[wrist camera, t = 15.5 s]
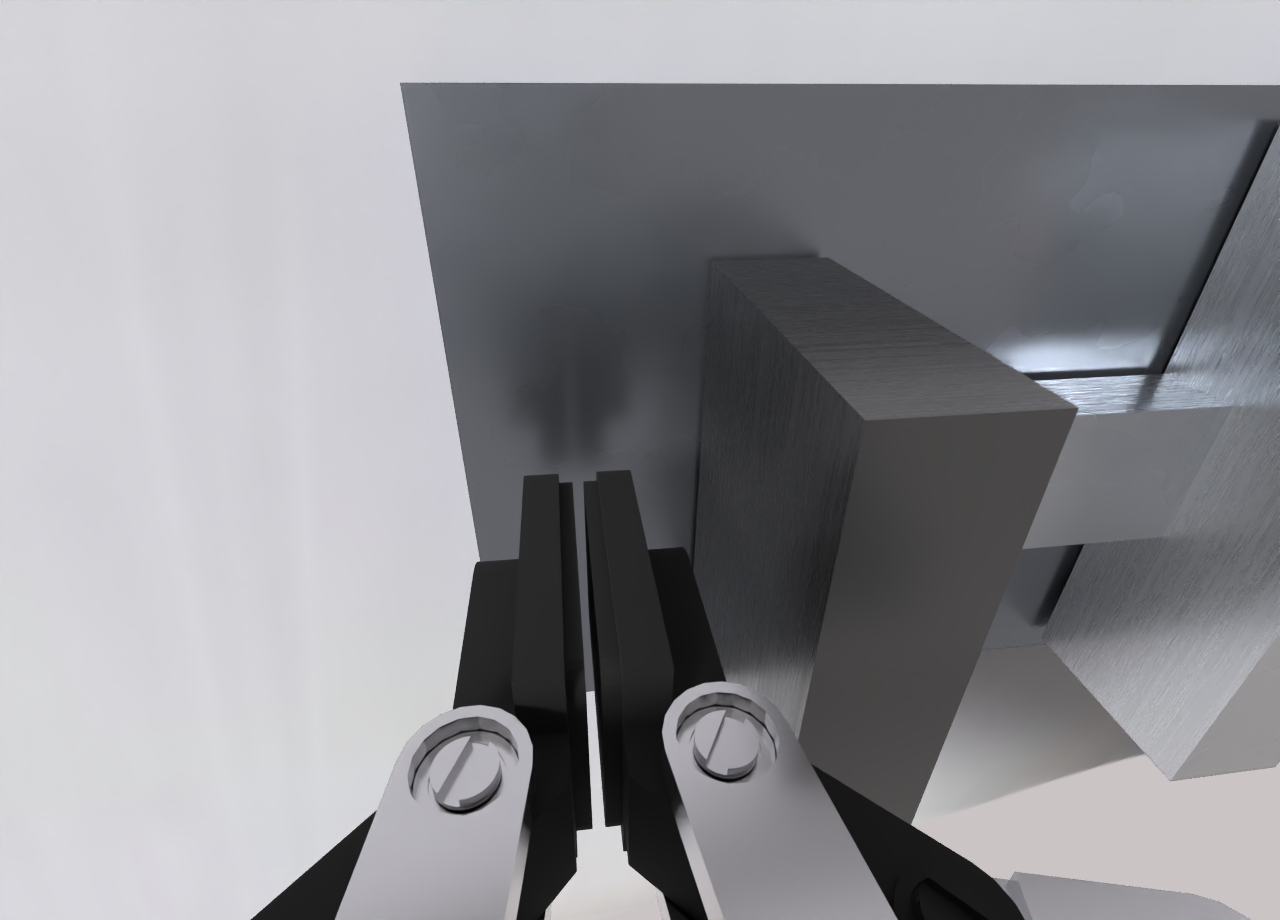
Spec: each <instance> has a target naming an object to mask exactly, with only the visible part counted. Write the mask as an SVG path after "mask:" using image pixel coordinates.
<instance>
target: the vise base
mask: <svg viewBox="0 0 1280 920" xmlns="http://www.w3.org/2000/svg"><path fill="white" fill-rule="evenodd" d="M400 85H401V91H402V97H403V103H404V109H405V115H406V121H407V127H408V133H409V139H410V145H411V151H412V157H413V162H414V168H415V174H416V180H417V186H418V192H419V198H420V204H421V210H422V216H423V222H424V228H425V234H426V240H427V246H428V252H429V258H430V264H431V270H432V276H433V282H434V288H435V294H436V300H437V306H438V312H439V318H440V324H441V330H442V336H443V342H444V348H445V354H446V360H447V365H448V371H449V377H450V383H451V389H452V395H453V401H454V407H455V413H456V419H457V425H458V431H459V437H460V443H461V449H462V455H463V461H464V467H465V473H466V479H467V485H468V491H469V497H470V503H471V509H472V515H473V521H474V527H475V533H476V539H477V545H478V551H479V557H480V562H483V561H496V560H510V559H519V546H520V529H521V513H522V496H523V480H524V476H528V475H545V474H559V483H564V482H573V497H574V512H575V527H576V543H577V558H578V573H579V589H580V604H581V619H582V635H583V650H584V666H585V684H586V692H589V691H595V690H594V677H593V665H592V652H591V639H590V627H589V610H588V587H587V562H586V538H585V513H584V488H583V481H596V472H598V471H616V470H630V471H631V474H632V479H633V484H634V488H635V493H636V497H637V502H638V506H639V511H640V515H641V520H642V525H643V529H644V534H645V538H646V543H647V547H648V550H649V549H663V548H677V547H684V548H685V549H686V551H687V554H688V556H689V559H690V563H691V566H692V569H693V571H694V554H695V537H696V521H697V504H698V487H699V470H700V454H701V437H702V420H703V403H704V387H705V370H706V353H707V336H708V320H709V303H710V286H711V269H712V261H722V260H756V259H790V258H825V257H828V258H830V259H832V260H833V261H835V262H837V263H838V264H840V265H842V266H843V267H845V268H847V269H848V270H850V271H852V272H853V273H855V274H857V275H858V276H860V277H862V278H863V279H865V280H867V281H868V282H870V283H872V284H873V285H875V286H877V287H878V288H880V289H882V290H883V291H885V292H887V293H888V294H890V295H892V296H893V297H895V298H897V299H898V300H900V301H902V302H903V303H905V304H907V305H908V306H910V307H912V308H913V309H915V310H917V311H918V312H920V313H922V314H923V315H925V316H927V317H928V318H930V319H932V320H933V321H935V322H937V323H938V324H940V325H942V326H943V327H945V328H947V329H948V330H950V331H952V332H953V333H955V334H957V335H958V336H960V337H962V338H963V339H965V340H967V341H968V342H970V343H972V344H973V345H975V346H977V347H978V348H980V349H982V350H983V351H985V352H987V353H988V354H990V355H992V356H993V357H995V358H997V359H998V360H1000V361H1002V362H1003V363H1005V364H1007V365H1008V366H1010V367H1012V368H1013V369H1015V370H1017V371H1018V372H1020V373H1022V374H1023V375H1025V376H1027V377H1028V378H1030V379H1032V380H1033V381H1039V380H1057V379H1076V378H1094V377H1113V376H1131V375H1150V374H1164V373H1165V370H1166V368H1167V366H1168V364H1169V362H1170V360H1171V358H1172V355H1173V353H1174V351H1175V349H1176V347H1177V345H1178V343H1179V340H1180V338H1181V336H1182V334H1183V332H1184V330H1185V328H1186V325H1187V323H1188V321H1189V319H1190V317H1191V315H1192V312H1193V310H1194V308H1195V306H1196V304H1197V302H1198V300H1199V297H1200V295H1201V293H1202V291H1203V289H1204V287H1205V285H1206V282H1207V280H1208V278H1209V276H1210V274H1211V272H1212V270H1213V267H1214V265H1215V263H1216V261H1217V259H1218V257H1219V255H1220V252H1221V250H1222V248H1223V246H1224V244H1225V242H1226V240H1227V237H1228V235H1229V233H1230V231H1231V229H1232V227H1233V225H1234V222H1235V220H1236V218H1237V216H1238V214H1239V212H1240V210H1241V207H1242V205H1243V203H1244V201H1245V199H1246V197H1247V195H1248V192H1249V190H1250V188H1251V186H1252V184H1253V182H1254V180H1255V177H1256V175H1257V173H1258V171H1259V169H1260V167H1261V164H1262V162H1263V160H1264V158H1265V156H1266V154H1267V152H1268V149H1269V147H1270V145H1271V143H1272V141H1273V139H1274V137H1275V134H1276V132H1277V130H1278V128H1279V126H1280V85H971V84H637V83H400ZM1083 546H1084V544H1076V545H1065V546H1053V547H1042V548H1030V549H1022V550H1021V553H1020V555H1019V558H1018V560H1017V563H1016V565H1015V568H1014V570H1013V573H1012V575H1011V578H1010V580H1009V583H1008V585H1007V588H1006V590H1005V593H1004V595H1003V598H1002V600H1001V602H1000V605H999V607H998V610H997V612H996V615H995V617H994V620H993V622H992V625H991V627H990V630H989V632H988V635H987V637H986V640H985V642H984V645H983V647H982V650H989V649H999V648H1008V647H1018V646H1027V645H1037V644H1046V643H1045V642H1044V641H1043V639H1042V638H1041V636H1042V634H1043V632H1044V630H1045V628H1046V626H1047V624H1048V621H1049V619H1050V617H1051V615H1052V613H1053V611H1054V609H1055V606H1056V604H1057V602H1058V600H1059V598H1060V596H1061V593H1062V591H1063V589H1064V587H1065V585H1066V583H1067V581H1068V578H1069V576H1070V574H1071V572H1072V570H1073V568H1074V566H1075V563H1076V561H1077V559H1078V557H1079V555H1080V553H1081V551H1082V548H1083Z"/></svg>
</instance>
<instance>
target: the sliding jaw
mask: <svg viewBox="0 0 1280 920" xmlns="http://www.w3.org/2000/svg"><path fill="white" fill-rule="evenodd" d="M1076 544H1084V546H1083V548H1082V551H1081V553H1080V555H1079V557H1078V559H1077V561H1076V563H1075V566H1074V568H1073V570H1072V572H1071V574H1070V576H1069V578H1068V581H1067V583H1066V585H1065V587H1064V589H1063V591H1062V593H1061V596H1060V598H1059V600H1058V602H1057V604H1056V606H1055V609H1054V611H1053V613H1052V615H1051V617H1050V619H1049V621H1048V624H1047V626H1046V628H1045V630H1044V632H1043V634H1042V636H1041V638H1042V639H1043V641H1044V642H1045V643H1046V644H1047V645H1048V646H1049V647H1050V648H1051V649H1052V651H1053V652H1054V653H1055V654H1056V655H1057V656H1058V657H1059V658H1060V659H1061V661H1062V662H1063V663H1064V664H1065V665H1066V666H1067V667H1068V668H1069V669H1070V671H1071V672H1072V673H1073V674H1074V675H1075V676H1076V677H1077V678H1078V679H1079V681H1080V682H1081V683H1082V684H1083V685H1084V686H1085V687H1086V688H1087V689H1088V691H1089V692H1090V693H1091V694H1092V695H1093V696H1094V697H1095V698H1096V699H1097V701H1098V702H1099V703H1100V704H1101V705H1102V706H1103V707H1104V708H1105V709H1106V711H1107V712H1108V713H1109V714H1110V715H1111V716H1112V717H1113V718H1114V719H1115V721H1116V722H1117V723H1118V724H1119V725H1120V726H1121V727H1122V728H1123V729H1124V731H1125V732H1126V733H1127V734H1128V735H1129V736H1130V737H1131V738H1132V739H1133V741H1134V742H1135V743H1136V744H1137V745H1138V746H1139V747H1140V748H1141V749H1142V751H1143V752H1144V753H1145V754H1146V755H1147V756H1148V757H1149V758H1150V759H1151V760H1152V762H1153V763H1154V764H1155V765H1156V766H1157V767H1158V768H1159V769H1160V770H1161V772H1162V773H1163V774H1164V775H1165V776H1166V777H1167V778H1168V779H1169V781H1175V780H1183V779H1190V778H1197V777H1205V776H1213V775H1220V774H1227V773H1235V772H1242V771H1249V770H1257V769H1265V768H1272V767H1276V765H1277V764H1278V763H1279V762H1280V126H1279V128H1278V130H1277V132H1276V134H1275V137H1274V139H1273V141H1272V143H1271V145H1270V147H1269V149H1268V152H1267V154H1266V156H1265V158H1264V160H1263V162H1262V164H1261V167H1260V169H1259V171H1258V173H1257V175H1256V177H1255V180H1254V182H1253V184H1252V186H1251V188H1250V190H1249V192H1248V195H1247V197H1246V199H1245V201H1244V203H1243V205H1242V207H1241V210H1240V212H1239V214H1238V216H1237V218H1236V220H1235V222H1234V225H1233V227H1232V229H1231V231H1230V233H1229V235H1228V237H1227V240H1226V242H1225V244H1224V246H1223V248H1222V250H1221V252H1220V255H1219V257H1218V259H1217V261H1216V263H1215V265H1214V267H1213V270H1212V272H1211V274H1210V276H1209V278H1208V280H1207V282H1206V285H1205V287H1204V289H1203V291H1202V293H1201V295H1200V297H1199V300H1198V302H1197V304H1196V306H1195V308H1194V310H1193V312H1192V315H1191V317H1190V319H1189V321H1188V323H1187V325H1186V328H1185V330H1184V332H1183V334H1182V336H1181V338H1180V340H1179V343H1178V345H1177V347H1176V349H1175V351H1174V353H1173V355H1172V358H1171V360H1170V362H1169V364H1168V366H1167V368H1166V370H1165V373H1164V374H1150V375H1131V376H1113V377H1094V378H1076V379H1057V380H1039V381H1033V380H1032V379H1030V378H1028V377H1027V376H1025V375H1023V374H1022V373H1020V372H1018V371H1017V370H1015V369H1013V368H1012V367H1010V366H1008V365H1007V364H1005V363H1003V362H1002V361H1000V360H998V359H997V358H995V357H993V356H992V355H990V354H988V353H987V352H985V351H983V350H982V349H980V348H978V347H977V346H975V345H973V344H972V343H970V342H968V341H967V340H965V339H963V338H962V337H960V336H958V335H957V334H955V333H953V332H952V331H950V330H948V329H947V328H945V327H943V326H942V325H940V324H938V323H937V322H935V321H933V320H932V319H930V318H928V317H927V316H925V315H923V314H922V313H920V312H918V311H917V310H915V309H913V308H912V307H910V306H908V305H907V304H905V303H903V302H902V301H900V300H898V299H897V298H895V297H893V296H892V295H890V294H888V293H887V292H885V291H883V290H882V289H880V288H878V287H877V286H875V285H873V284H872V283H870V282H868V281H867V280H865V279H863V278H862V277H860V276H858V275H857V274H855V273H853V272H852V271H850V270H848V269H847V268H845V267H843V266H842V265H840V264H838V263H837V262H835V261H833V260H832V259H830V258H828V257H825V258H790V259H756V260H722V261H712V269H711V286H710V303H709V320H708V336H707V353H706V370H705V387H704V403H703V420H702V437H701V454H700V470H699V487H698V504H697V521H696V537H695V554H694V571H693V573H694V576H695V579H696V583H697V586H698V589H699V592H700V596H701V599H702V602H703V606H704V609H705V612H706V616H707V619H708V622H709V625H710V629H711V632H712V635H713V639H714V642H715V645H716V649H717V652H718V655H719V658H720V662H721V665H722V668H723V672H724V675H725V678H726V681H727V682H728V683H735V684H741V685H743V686H745V687H748V688H750V689H752V690H755V691H757V692H759V693H760V694H762V695H763V696H764V697H766V698H767V699H768V700H770V701H771V702H772V703H773V704H775V706H776V707H777V708H778V710H779V711H780V712H781V713H782V715H783V716H784V717H785V719H786V720H787V722H788V724H789V726H790V727H791V729H792V731H793V733H794V735H795V736H796V738H797V740H798V742H799V744H800V745H801V747H802V749H803V751H804V753H805V754H806V756H807V758H808V760H809V761H810V763H811V764H812V765H814V766H816V767H817V768H819V769H821V770H822V771H824V772H825V773H827V774H829V775H830V776H832V777H834V778H835V779H837V780H838V781H840V782H842V783H843V784H845V785H847V786H848V787H850V788H851V789H853V790H855V791H856V792H858V793H860V794H861V795H863V796H864V797H866V798H868V799H869V800H871V801H873V802H874V803H876V804H877V805H879V806H881V807H882V808H884V809H886V810H887V811H889V812H890V813H892V814H894V815H895V816H897V817H899V818H900V819H902V820H903V821H905V822H907V823H908V824H910V825H911V823H912V821H913V818H914V816H915V813H916V811H917V808H918V806H919V803H920V801H921V798H922V796H923V794H924V791H925V789H926V786H927V784H928V781H929V779H930V776H931V774H932V771H933V769H934V766H935V764H936V761H937V759H938V756H939V754H940V751H941V749H942V746H943V744H944V741H945V739H946V736H947V734H948V731H949V729H950V727H951V724H952V722H953V719H954V717H955V714H956V712H957V709H958V707H959V704H960V702H961V699H962V697H963V694H964V692H965V689H966V687H967V684H968V682H969V679H970V677H971V674H972V672H973V669H974V667H975V664H976V662H977V660H978V657H979V655H980V652H981V650H982V647H983V645H984V642H985V640H986V637H987V635H988V632H989V630H990V627H991V625H992V622H993V620H994V617H995V615H996V612H997V610H998V607H999V605H1000V602H1001V600H1002V598H1003V595H1004V593H1005V590H1006V588H1007V585H1008V583H1009V580H1010V578H1011V575H1012V573H1013V570H1014V568H1015V565H1016V563H1017V560H1018V558H1019V555H1020V553H1021V550H1022V549H1030V548H1042V547H1053V546H1065V545H1076Z"/></svg>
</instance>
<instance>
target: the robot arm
mask: <svg viewBox="0 0 1280 920" xmlns="http://www.w3.org/2000/svg"><path fill="white" fill-rule="evenodd" d="M583 488H584V513H585V538H586V562H587V587H588V610H589V627H590V639H591V652H592V665H593V677H594V690H595V703H596V715H597V728H598V740H599V753H600V766H601V778H602V791H603V803H604V816H605V826H606V827H610V826H618V825H621V832H622V842H623V851H627V854H628V863H629V865H630V866H631V867H632V868H633V869H635V870H636V871H637V872H638V873H639V874H641V875H642V876H643V877H644V878H645V879H646V880H648V881H649V882H650V883H651V884H652V885H654V886H655V887H656V895H657V901H658V905H659V908H660V912H661V916H662V920H1251V919H1249V918H1247V917H1246V916H1244V915H1242V914H1240V913H1238V912H1237V911H1235V910H1233V909H1232V908H1230V907H1228V906H1226V905H1225V904H1223V903H1221V902H1219V901H1215V900H1212V899H1208V898H1205V897H1202V896H1198V895H1194V894H1189V893H1181V892H1173V891H1165V890H1156V889H1148V888H1141V887H1133V886H1125V885H1117V884H1109V883H1100V882H1092V881H1084V880H1077V879H1069V878H1061V877H1052V876H1044V875H1037V874H1028V873H1021V872H1014V874H1013V875H1012V877H1011V879H1010V880H1006V879H998V878H991V877H990V876H989V875H988V874H986V873H985V872H984V871H982V870H981V869H980V868H978V867H977V866H976V865H974V864H973V863H972V862H970V861H968V860H967V859H965V858H963V857H962V856H960V855H959V854H957V853H955V852H954V851H952V850H951V849H949V848H947V847H945V846H944V845H942V844H941V843H939V842H937V841H936V840H934V839H933V838H931V837H929V836H928V835H926V834H925V833H923V832H921V831H920V830H918V829H916V828H915V827H913V826H912V825H910V824H908V823H907V822H905V821H903V820H902V819H900V818H899V817H897V816H895V815H894V814H892V813H890V812H889V811H887V810H886V809H884V808H882V807H881V806H879V805H877V804H876V803H874V802H873V801H871V800H869V799H868V798H866V797H864V796H863V795H861V794H860V793H858V792H856V791H855V790H853V789H851V788H850V787H848V786H847V785H845V784H843V783H842V782H840V781H838V780H837V779H835V778H834V777H832V776H830V775H829V774H827V773H825V772H824V771H822V770H821V769H819V768H817V767H816V766H814V765H812V764H811V763H810V761H809V760H808V758H807V756H806V754H805V753H804V751H803V749H802V747H801V745H800V744H799V742H798V740H797V738H796V736H795V735H794V733H793V731H792V729H791V727H790V726H789V724H788V722H787V720H786V719H785V717H784V716H783V715H782V713H781V712H780V711H779V710H778V708H777V707H776V706H775V704H773V703H772V702H771V701H770V700H768V699H767V698H766V697H764V696H763V695H762V694H760V693H759V692H757V691H755V690H752V689H750V688H748V687H745V686H743V685H741V684H735V683H728V682H727V681H726V678H725V675H724V672H723V668H722V665H721V662H720V658H719V655H718V652H717V649H716V645H715V642H714V639H713V635H712V632H711V629H710V625H709V622H708V619H707V616H706V612H705V609H704V606H703V602H702V599H701V596H700V592H699V589H698V586H697V583H696V579H695V576H694V573H693V569H692V566H691V563H690V559H689V556H688V554H687V551H686V549H685V548H684V547H677V548H663V549H649V550H648V547H647V543H646V538H645V534H644V529H643V525H642V520H641V515H640V511H639V506H638V502H637V497H636V493H635V488H634V484H633V479H632V474H631V471H630V470H616V471H598V472H596V481H583ZM586 829H592V808H591V787H590V766H589V745H588V724H587V703H586V684H585V666H584V650H583V635H582V619H581V604H580V589H579V573H578V558H577V543H576V527H575V512H574V497H573V482H564V483H559V474H545V475H528V476H524V480H523V496H522V513H521V529H520V546H519V559H510V560H496V561H483V562H477V563H476V565H475V568H474V573H473V580H472V586H471V593H470V600H469V606H468V613H467V619H466V626H465V632H464V639H463V646H462V652H461V659H460V665H459V672H458V679H457V685H456V692H455V698H454V705H453V710H451V711H448V712H446V713H443V714H440V715H439V716H437V717H436V718H434V719H433V720H431V721H429V722H428V723H426V724H425V725H423V726H422V727H421V728H420V729H419V730H418V731H417V732H416V733H415V734H414V735H413V736H412V737H411V738H410V739H409V740H408V741H407V743H406V744H405V746H404V748H403V750H402V752H401V753H400V755H399V757H398V759H397V761H396V763H395V765H394V768H393V771H392V773H391V776H390V778H389V781H388V783H387V786H386V789H385V791H384V794H383V796H382V799H381V802H380V804H379V807H378V809H377V810H376V811H375V812H374V813H373V814H372V815H371V816H369V817H368V818H367V819H366V820H365V821H364V822H363V823H361V824H360V825H359V826H358V827H357V828H356V829H355V830H353V831H352V832H351V833H350V834H349V835H348V836H346V837H345V838H344V839H343V840H342V841H341V842H340V843H338V844H337V845H336V846H335V847H334V848H333V849H332V850H330V851H329V852H328V853H327V854H326V855H325V856H323V857H322V858H321V859H320V860H319V861H318V862H317V863H315V864H314V865H313V866H312V867H311V868H310V869H309V870H307V871H306V872H305V873H304V874H303V875H302V876H300V877H299V878H298V879H297V880H296V881H295V882H294V883H292V884H291V885H290V886H289V887H288V888H287V889H286V890H284V891H283V892H282V893H281V894H280V895H279V896H277V897H276V898H275V899H274V900H273V901H272V902H271V903H269V904H268V905H267V906H266V907H265V908H264V909H263V910H261V911H260V912H259V913H258V914H257V915H256V916H254V917H253V918H252V919H251V920H551V903H552V901H553V900H554V899H555V898H556V896H557V895H558V894H559V893H560V891H561V890H562V889H563V888H564V886H565V885H566V884H567V883H568V881H569V880H570V879H571V878H572V877H573V875H574V874H575V873H576V872H577V866H576V857H577V833H576V831H578V830H586Z"/></svg>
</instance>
